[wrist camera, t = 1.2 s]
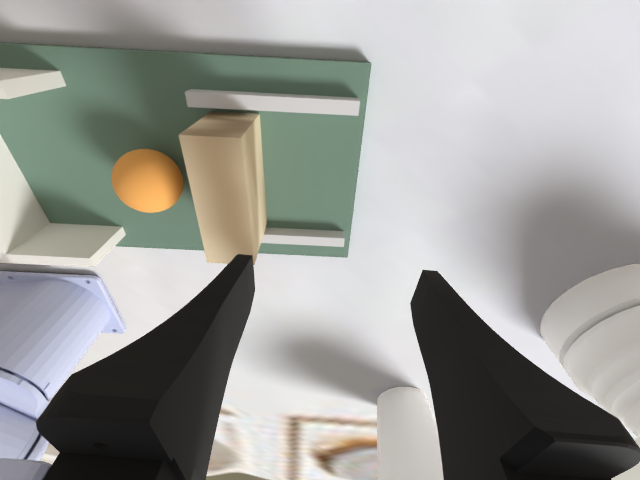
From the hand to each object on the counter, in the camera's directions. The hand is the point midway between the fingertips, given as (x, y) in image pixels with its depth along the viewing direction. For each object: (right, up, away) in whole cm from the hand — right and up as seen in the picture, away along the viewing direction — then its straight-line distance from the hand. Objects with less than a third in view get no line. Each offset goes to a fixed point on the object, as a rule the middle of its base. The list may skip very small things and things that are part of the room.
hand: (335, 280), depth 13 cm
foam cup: (+10, -19, +27) cm, 35 cm away
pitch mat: (-11, +7, +9) cm, 15 cm away
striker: (-6, +6, +8) cm, 12 cm away
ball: (-12, +5, +6) cm, 14 cm away
